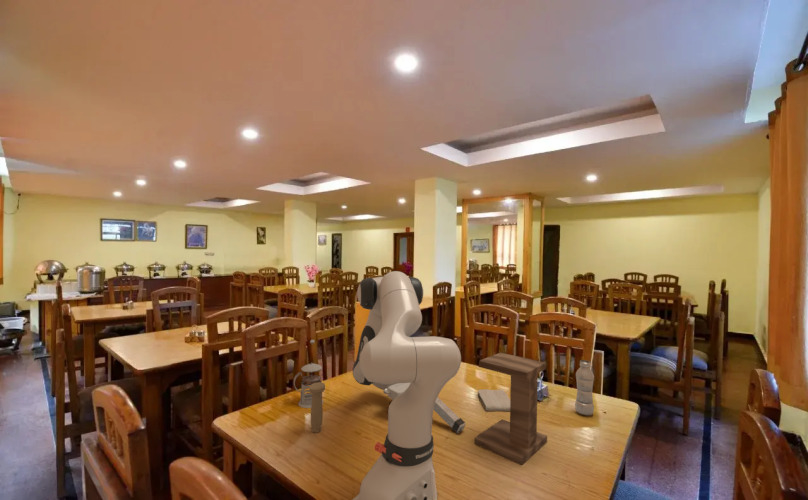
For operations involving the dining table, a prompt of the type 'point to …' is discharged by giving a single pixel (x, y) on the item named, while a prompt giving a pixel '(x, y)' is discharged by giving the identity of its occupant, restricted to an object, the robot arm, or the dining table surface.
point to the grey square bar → (449, 416)
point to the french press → (307, 398)
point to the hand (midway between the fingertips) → (427, 393)
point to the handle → (316, 406)
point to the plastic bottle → (584, 389)
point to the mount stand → (515, 410)
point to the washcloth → (494, 400)
